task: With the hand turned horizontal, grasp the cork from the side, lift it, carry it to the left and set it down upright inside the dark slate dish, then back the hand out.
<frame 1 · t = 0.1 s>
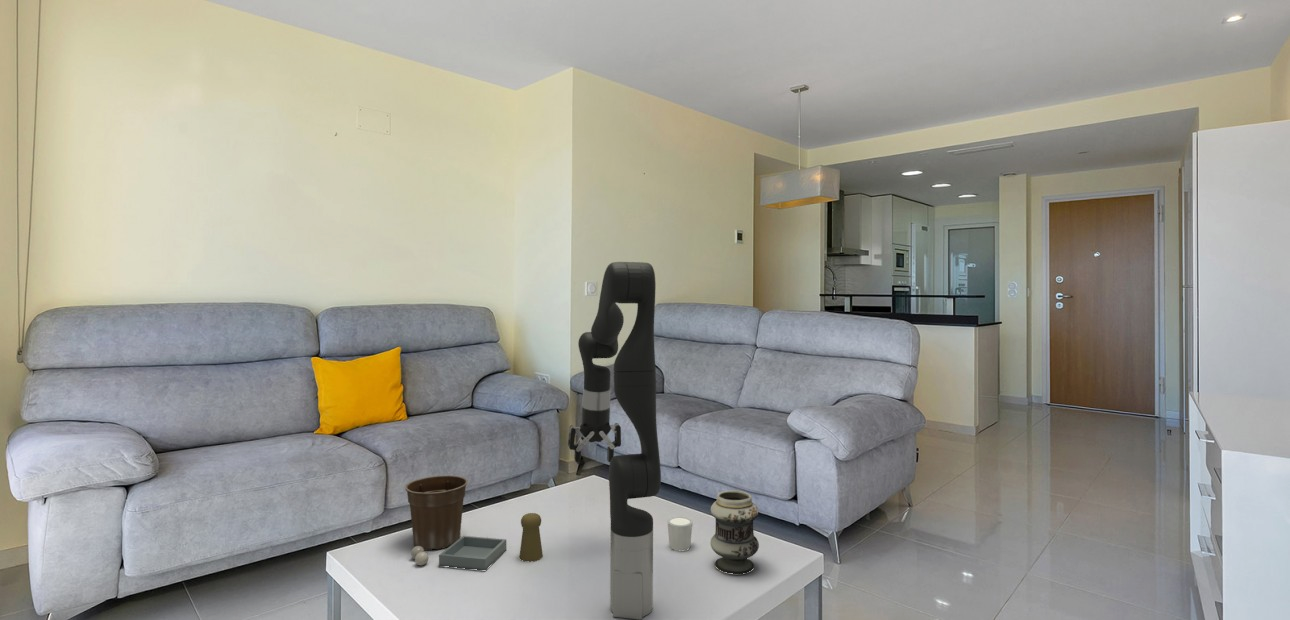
hand: (593, 462, 163), 22 cm above the table, tool pointing down, fingers open, 8 cm apart
plant pot: (436, 542, 164), on the table
pebble b: (417, 558, 153), on the table
pebble a: (421, 564, 150), on the table
white cup: (679, 547, 161), on the table
apothecary jar: (734, 567, 150), on the table
slate dish: (473, 558, 153), on the table
cork: (531, 557, 155), on the table
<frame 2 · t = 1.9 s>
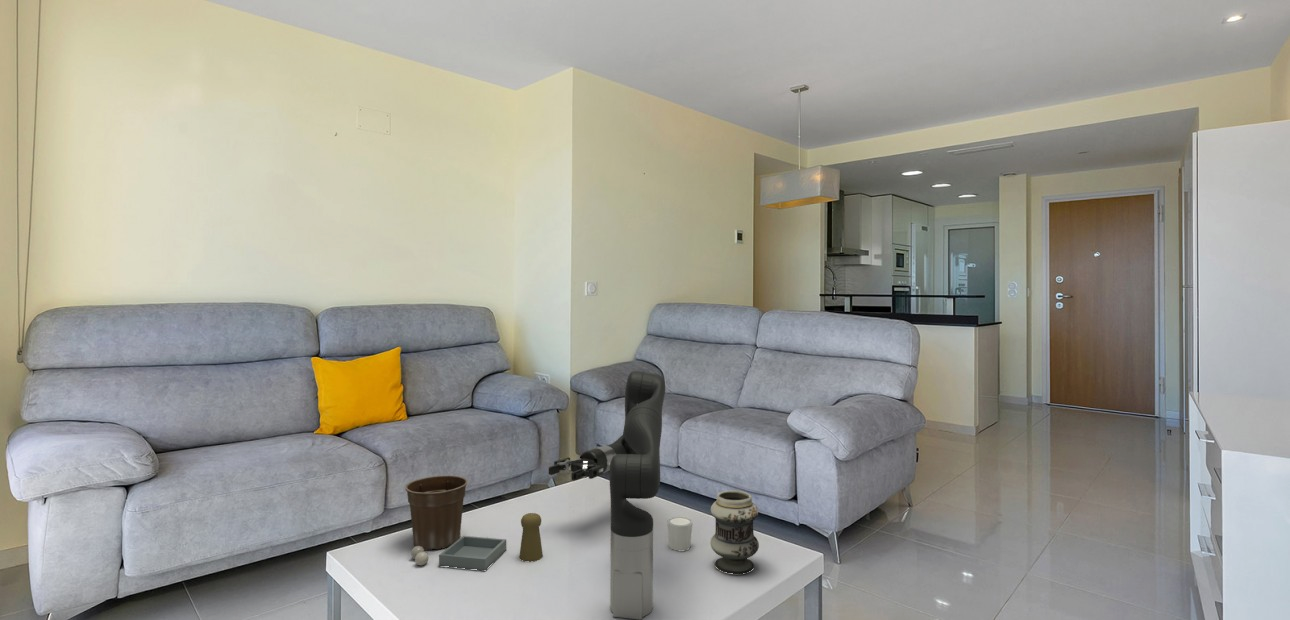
hand: (560, 474, 164), 19 cm above the table, tool horizontal, fingers open, 8 cm apart
nothing on the table moved.
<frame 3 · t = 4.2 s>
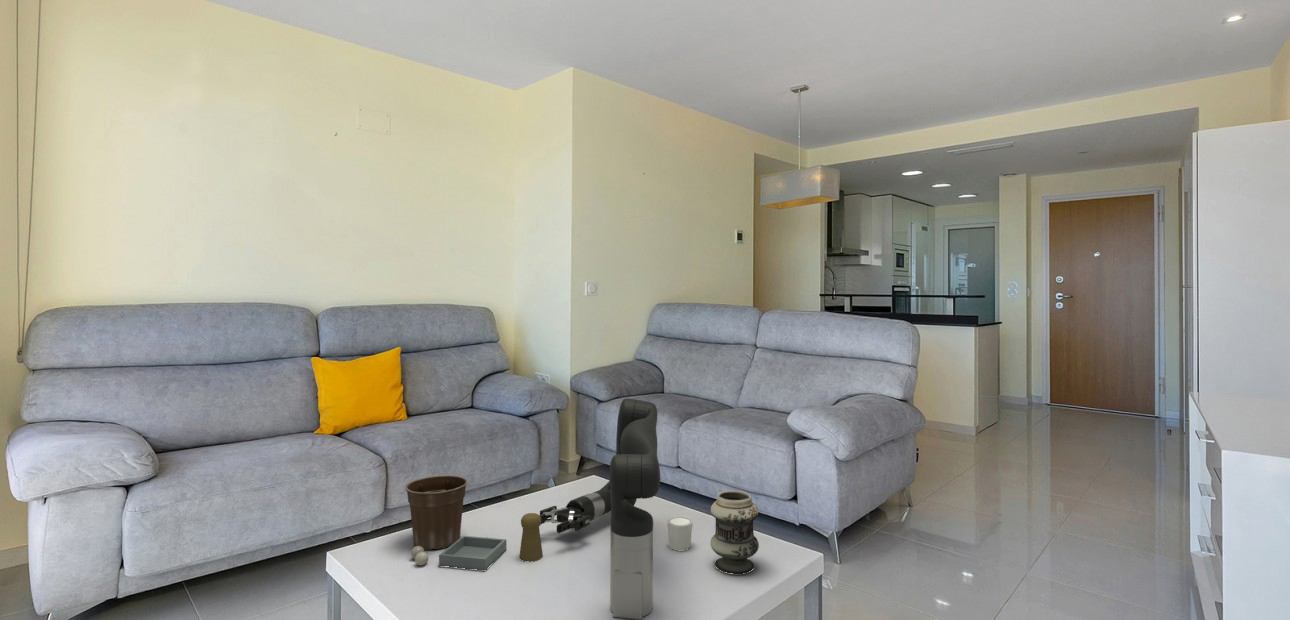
hand: (545, 525, 159), 6 cm above the table, tool horizontal, fingers open, 8 cm apart
nothing on the table moved.
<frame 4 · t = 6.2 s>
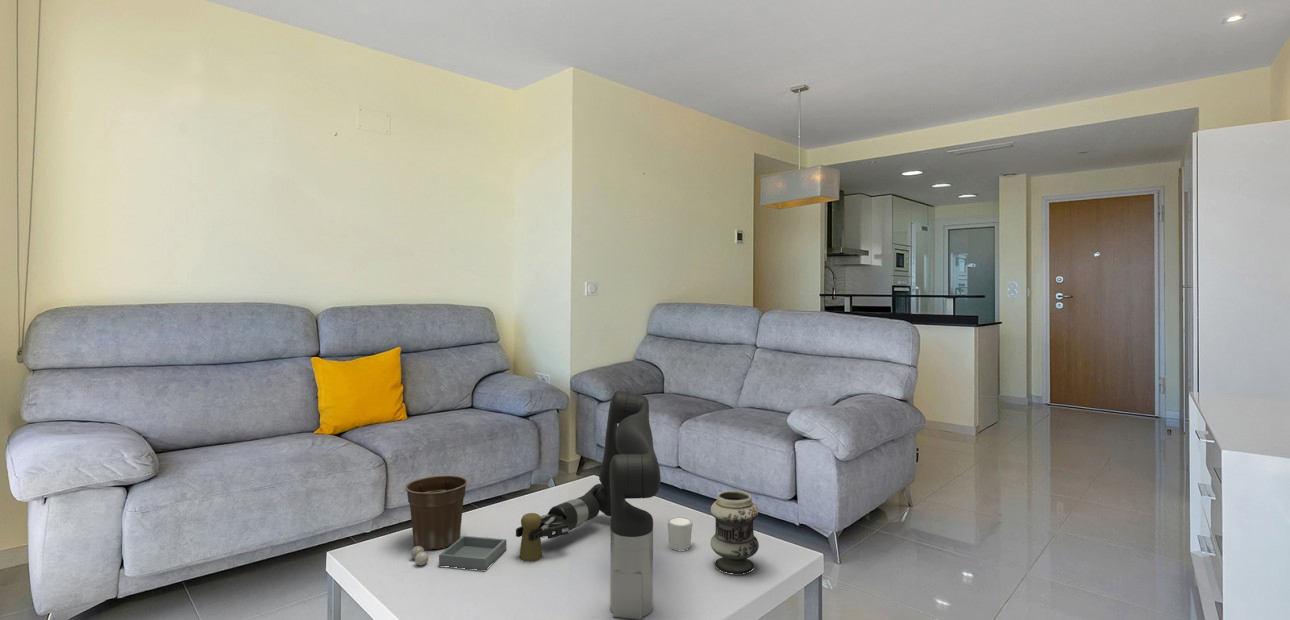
hand: (523, 535, 152), 7 cm above the table, tool horizontal, fingers closed on cork, 4 cm apart
cork: (531, 557, 155), on the table, touching gripper
everything else where it was.
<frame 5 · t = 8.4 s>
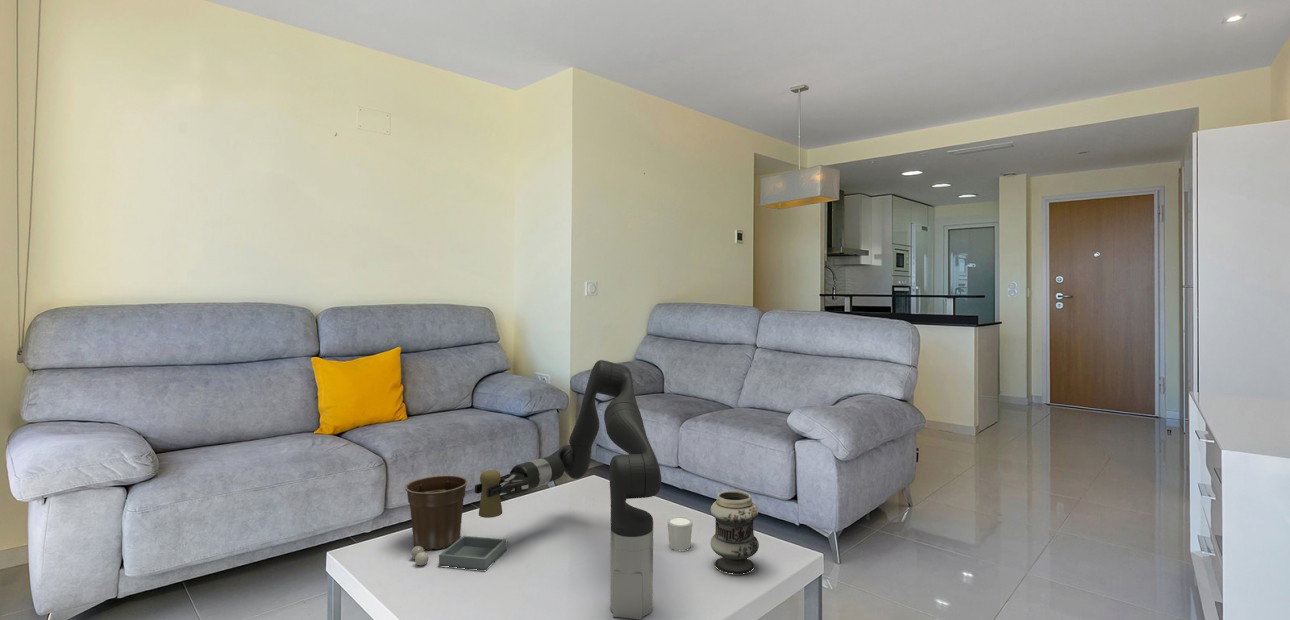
hand: (481, 491, 152), 18 cm above the table, tool horizontal, fingers closed on cork, 4 cm apart
cork: (490, 514, 154), point 11 cm above the table, touching gripper
everything else where it was.
when the fingers open (8 cm above the table, at t = 10.8 s): cork moves 2 cm, point 1 cm above the table.
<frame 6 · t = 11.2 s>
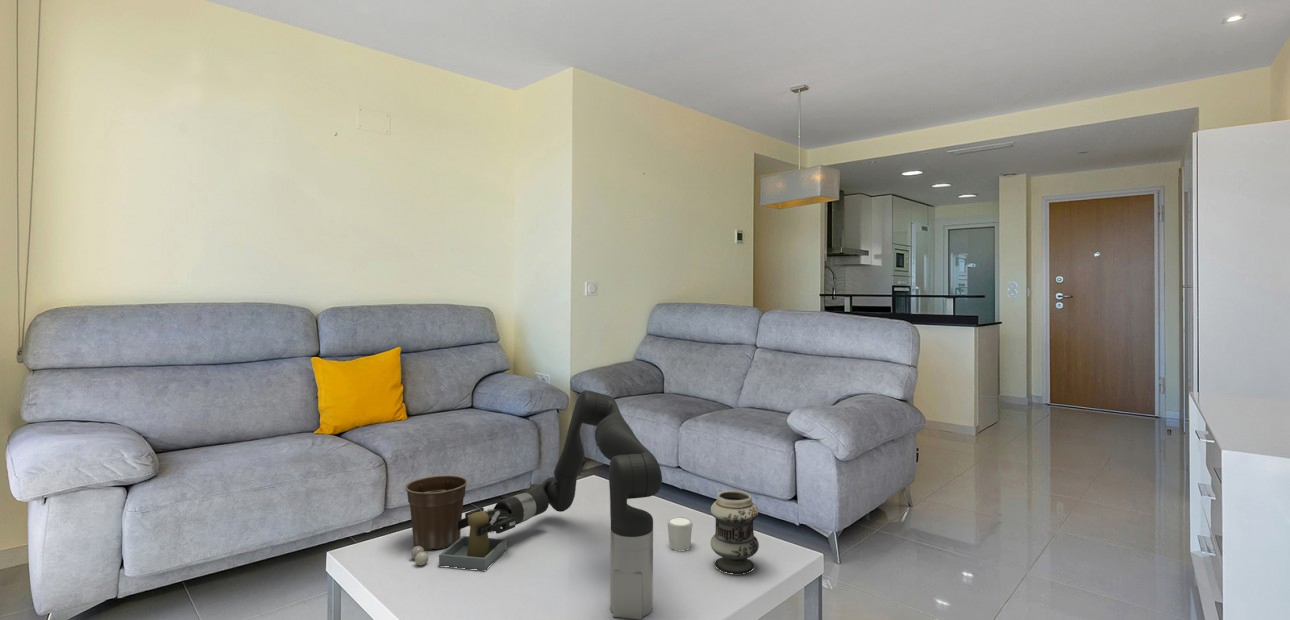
hand: (466, 528, 151), 8 cm above the table, tool horizontal, fingers open, 7 cm apart
cork: (478, 557, 153), point 1 cm above the table, touching gripper
everything else where it was.
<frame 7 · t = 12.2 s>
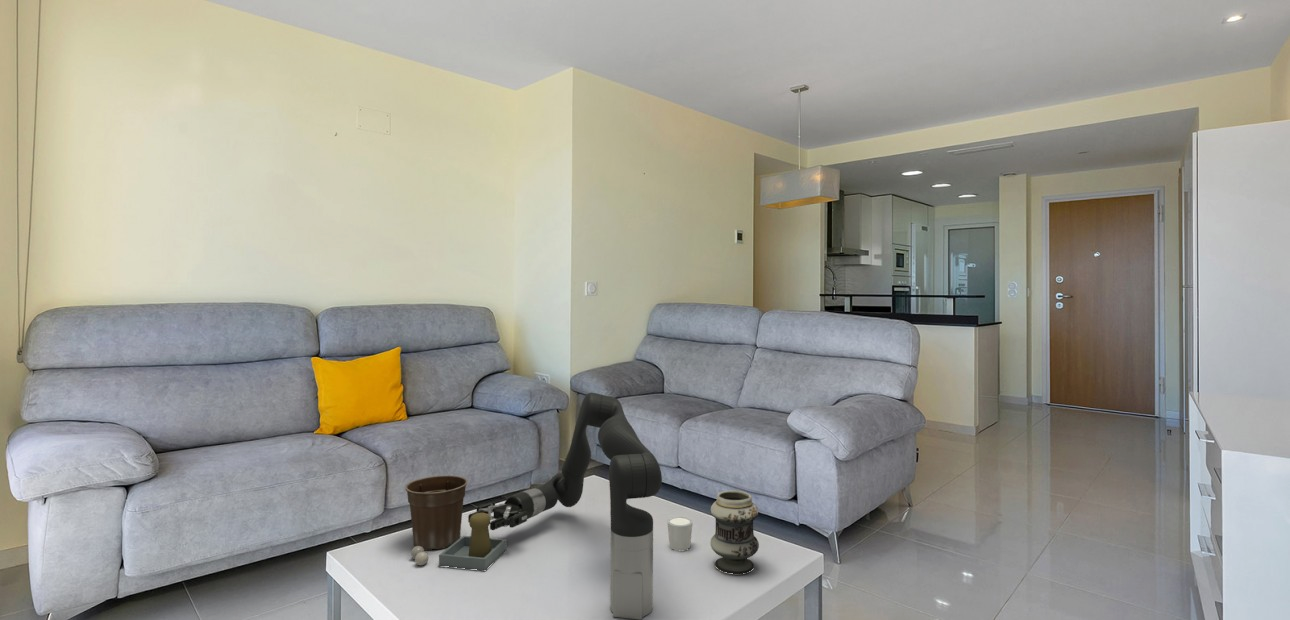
hand: (479, 522, 155), 9 cm above the table, tool horizontal, fingers open, 8 cm apart
cork: (480, 557, 153), resting on slate dish
everything else where it was.
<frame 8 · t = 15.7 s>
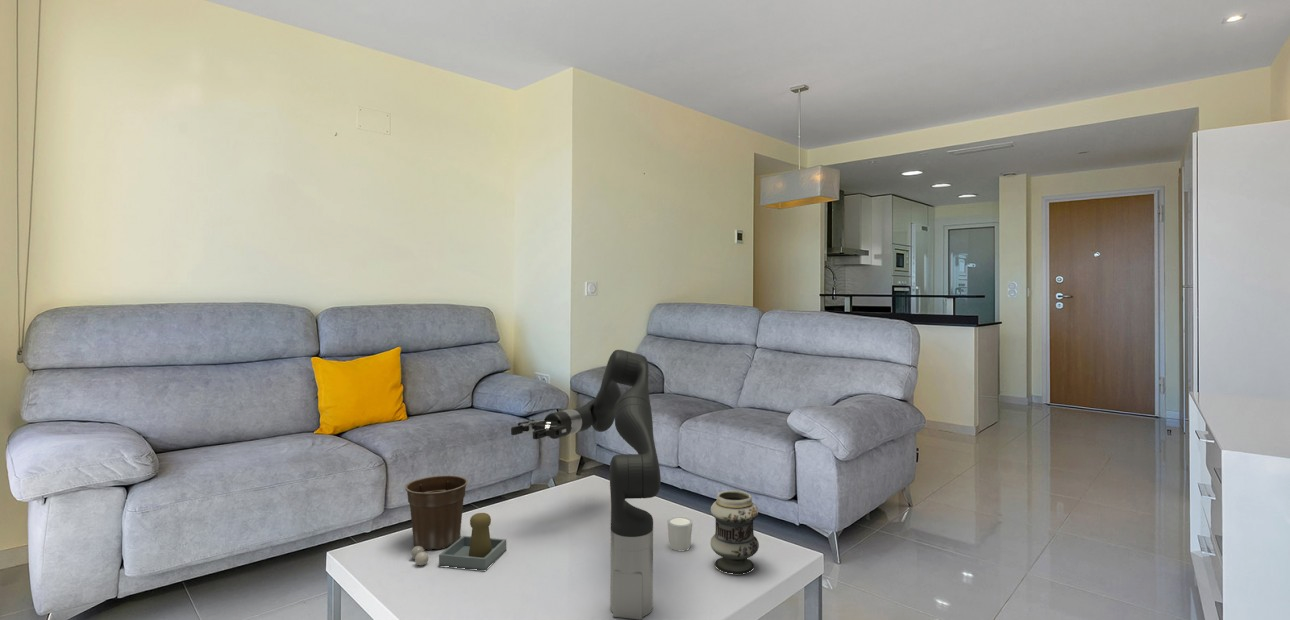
hand: (522, 433, 163), 30 cm above the table, tool horizontal, fingers open, 8 cm apart
nothing on the table moved.
at the end: cork inside the target area on the slate dish (1.9 cm from its centre), point 0.4 cm above the slate dish's base; cork tilted 0°; the gripper is holding nothing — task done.
